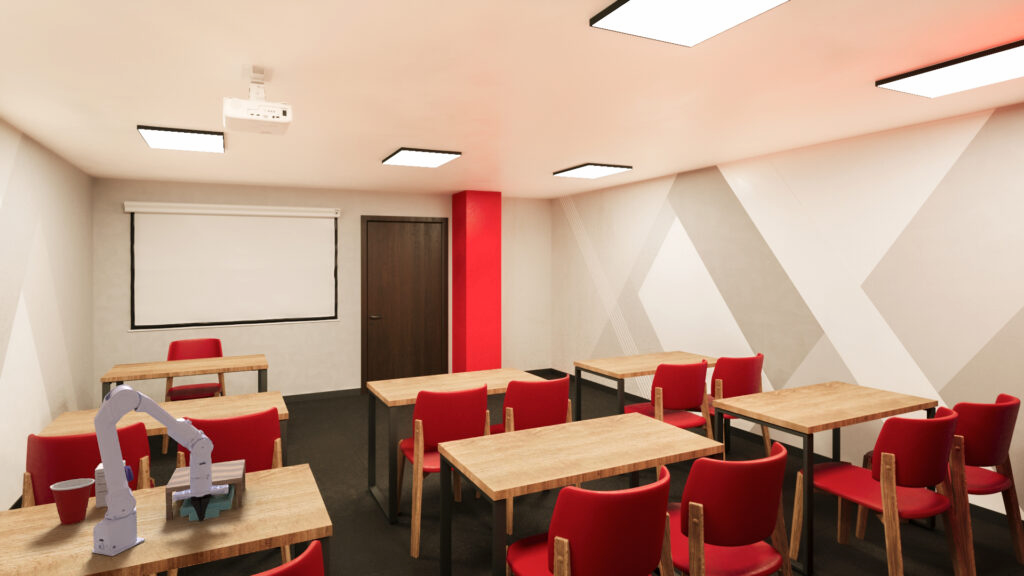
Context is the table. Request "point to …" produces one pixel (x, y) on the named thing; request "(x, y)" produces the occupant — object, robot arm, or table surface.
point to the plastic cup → (72, 499)
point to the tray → (210, 505)
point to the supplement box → (101, 485)
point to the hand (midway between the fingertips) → (201, 520)
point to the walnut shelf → (220, 476)
